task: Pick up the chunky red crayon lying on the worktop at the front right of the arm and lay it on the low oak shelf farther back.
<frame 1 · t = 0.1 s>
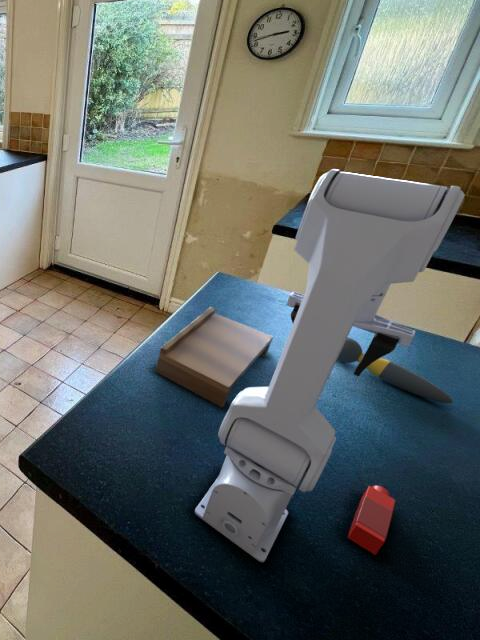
hand: (326, 360, 66), 10 cm above the worktop, tool pointing down, fingers open, 7 cm apart
paintbrush: (373, 374, 78), on the worktop
shelf: (212, 362, 81), on the worktop
crayon: (367, 525, 53), on the worktop
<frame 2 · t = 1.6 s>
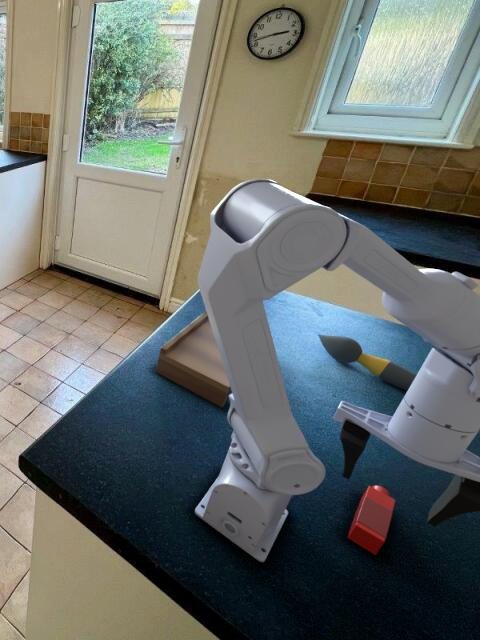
hand: (387, 494, 50), 6 cm above the worktop, tool pointing down, fingers open, 7 cm apart
nothing on the worktop moved.
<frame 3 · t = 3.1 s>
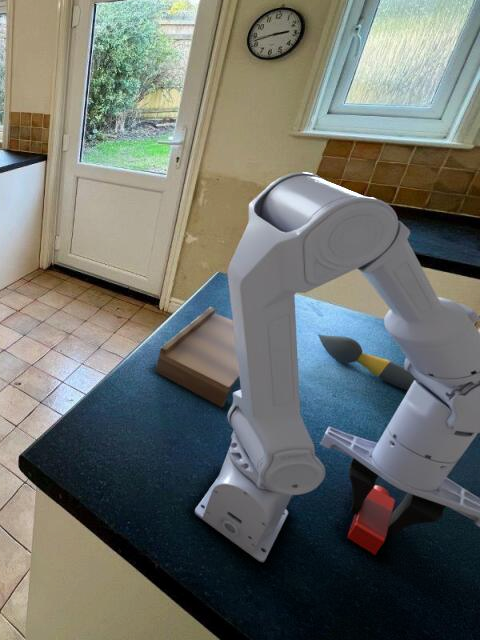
hand: (372, 518, 52), 1 cm above the worktop, tool pointing down, fingers closed on crayon, 3 cm apart
crayon: (367, 524, 53), on the worktop, touching gripper
everything else where it was.
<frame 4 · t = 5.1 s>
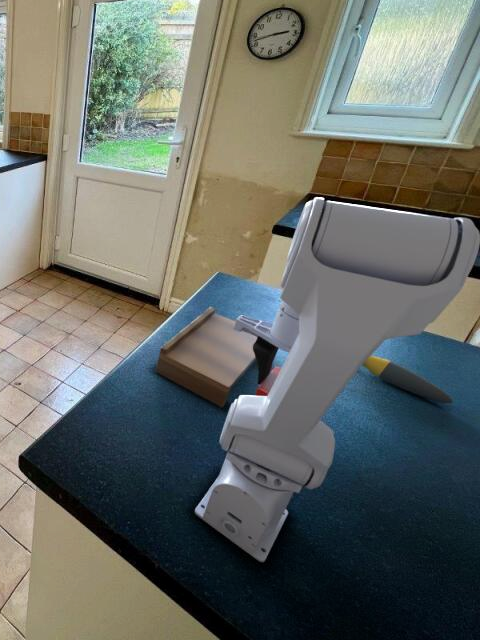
hand: (274, 387, 63), 8 cm above the worktop, tool pointing down, fingers closed on crayon, 3 cm apart
crayon: (271, 394, 64), point 7 cm above the worktop, touching gripper
everything else where it was.
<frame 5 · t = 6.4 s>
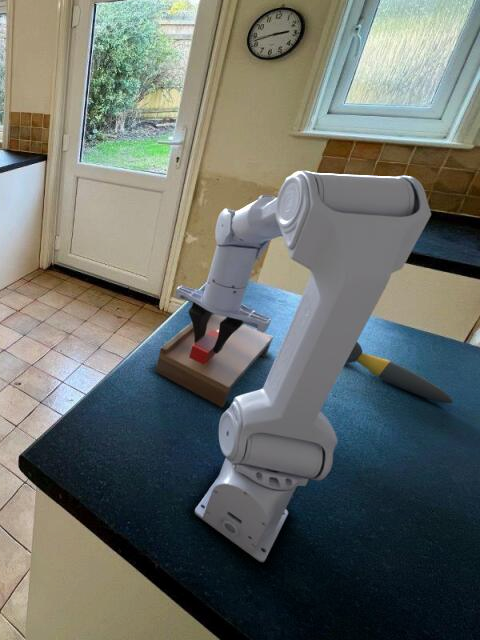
hand: (207, 346, 75), 7 cm above the worktop, tool pointing down, fingers closed on crayon, 3 cm apart
crayon: (206, 351, 75), point 6 cm above the worktop, touching gripper
everything else where it was.
when the fingers open (6 cm above the worktop, at t = 7.1 s): crayon stays where it is, resting on shelf.
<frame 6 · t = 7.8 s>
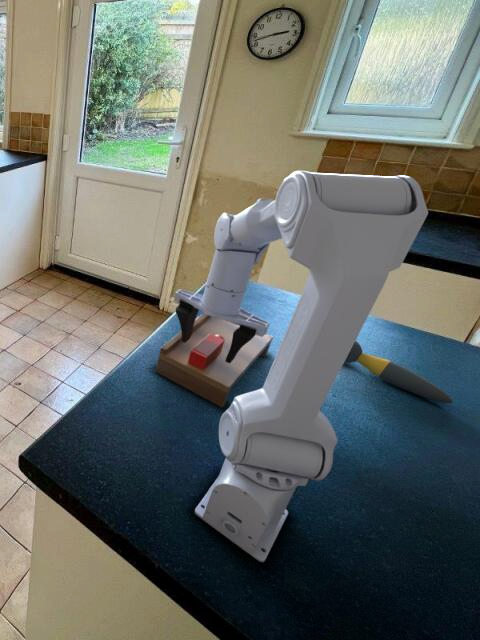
hand: (206, 349, 75), 6 cm above the worktop, tool pointing down, fingers open, 7 cm apart
crayon: (204, 356, 76), point 5 cm above the worktop, touching shelf
everything else where it was.
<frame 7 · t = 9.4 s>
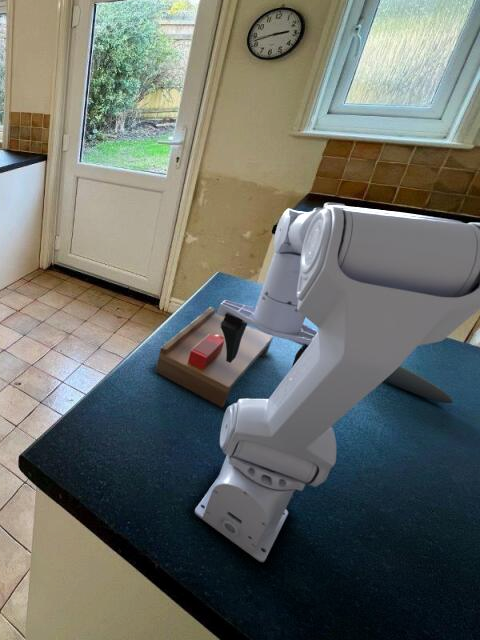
hand: (257, 371, 64), 10 cm above the worktop, tool pointing down, fingers open, 7 cm apart
nothing on the worktop moved.
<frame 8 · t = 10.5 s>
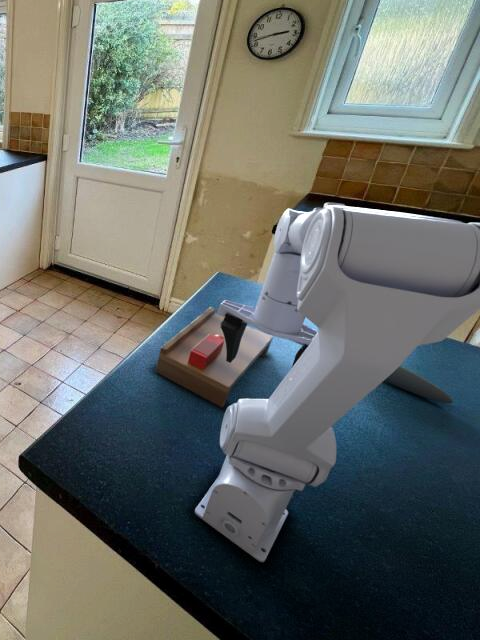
hand: (257, 371, 64), 10 cm above the worktop, tool pointing down, fingers open, 7 cm apart
nothing on the worktop moved.
at the end: crayon inside the target area on the shelf (5.9 cm from its centre), point 4.5 cm above the shelf's base; the gripper is holding nothing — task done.
